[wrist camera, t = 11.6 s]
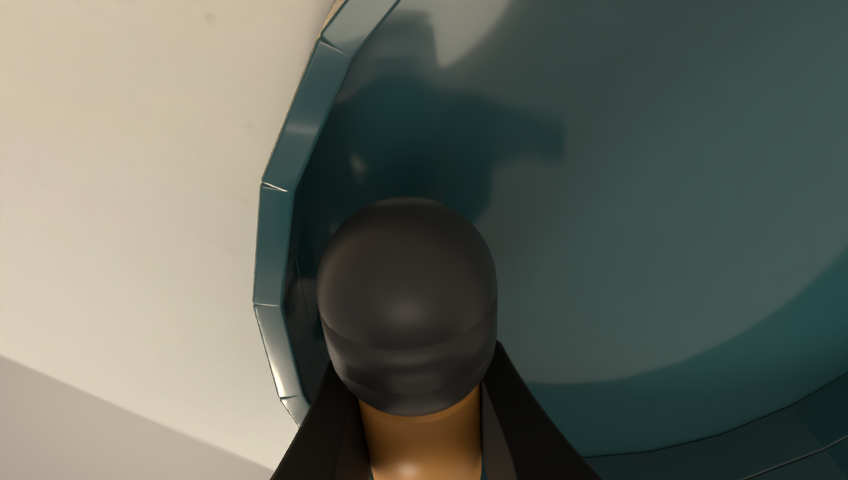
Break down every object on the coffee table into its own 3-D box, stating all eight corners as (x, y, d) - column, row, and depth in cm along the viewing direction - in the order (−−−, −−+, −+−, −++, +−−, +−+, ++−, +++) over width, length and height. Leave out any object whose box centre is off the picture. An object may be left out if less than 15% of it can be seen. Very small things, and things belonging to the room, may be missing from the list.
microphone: (311, 174, 10) (285, 275, 7) (481, 158, 10) (517, 253, 7) (368, 458, 15) (365, 584, 12) (484, 447, 15) (507, 570, 12)
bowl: (594, 515, 22) (631, 623, 19) (136, 260, 14) (60, 371, 11) (1154, 186, 15) (1374, 268, 12) (869, -706, 7) (1315, -1266, 4)
